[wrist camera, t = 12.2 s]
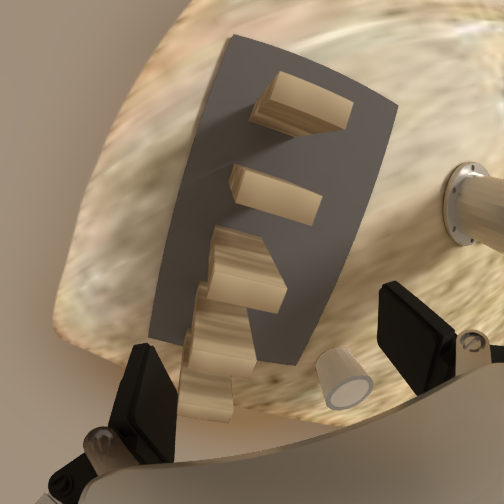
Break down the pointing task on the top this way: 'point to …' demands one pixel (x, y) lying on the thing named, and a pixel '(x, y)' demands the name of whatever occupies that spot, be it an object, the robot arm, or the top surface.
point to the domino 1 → (273, 195)
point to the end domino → (300, 107)
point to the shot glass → (342, 379)
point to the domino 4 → (203, 391)
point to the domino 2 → (243, 271)
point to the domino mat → (263, 223)
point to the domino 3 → (220, 337)
